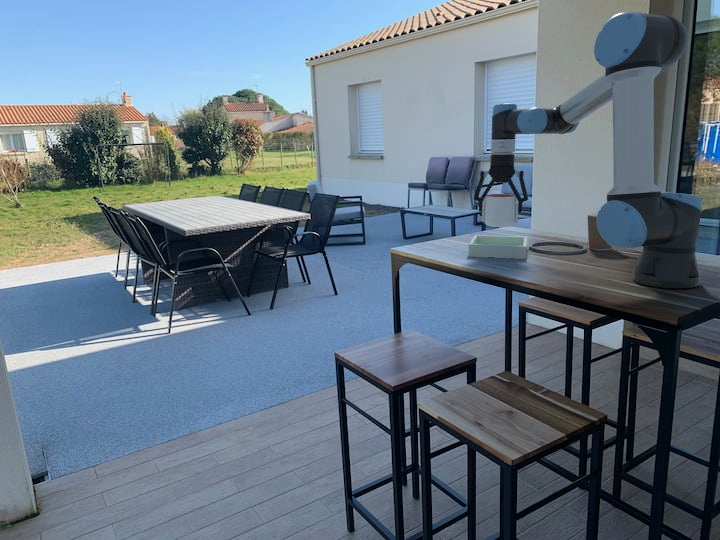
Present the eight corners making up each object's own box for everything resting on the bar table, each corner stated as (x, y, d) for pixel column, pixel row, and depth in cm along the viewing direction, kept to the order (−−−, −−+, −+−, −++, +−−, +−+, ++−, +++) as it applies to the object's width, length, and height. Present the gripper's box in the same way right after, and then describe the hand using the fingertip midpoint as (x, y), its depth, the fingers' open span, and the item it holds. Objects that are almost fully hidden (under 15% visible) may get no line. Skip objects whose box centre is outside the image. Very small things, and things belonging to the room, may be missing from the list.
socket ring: (588, 255, 166) (588, 252, 166) (528, 253, 172) (528, 250, 171) (583, 245, 183) (584, 242, 182) (529, 243, 189) (529, 240, 188)
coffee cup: (607, 252, 169) (611, 216, 167) (578, 248, 177) (580, 214, 174) (622, 248, 176) (625, 213, 173) (592, 244, 183) (595, 211, 181)
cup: (512, 223, 176) (514, 194, 174) (516, 227, 166) (518, 197, 164) (483, 223, 178) (484, 194, 175) (485, 227, 168) (486, 197, 166)
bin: (525, 259, 163) (526, 246, 162) (468, 256, 169) (468, 244, 168) (526, 248, 179) (527, 236, 178) (474, 246, 185) (474, 235, 184)
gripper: (465, 154, 166) (464, 222, 172) (539, 153, 159) (535, 224, 165) (468, 153, 173) (466, 219, 179) (539, 153, 166) (535, 221, 171)
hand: (499, 221), depth 172 cm, fingers closed on cup, 10 cm apart
